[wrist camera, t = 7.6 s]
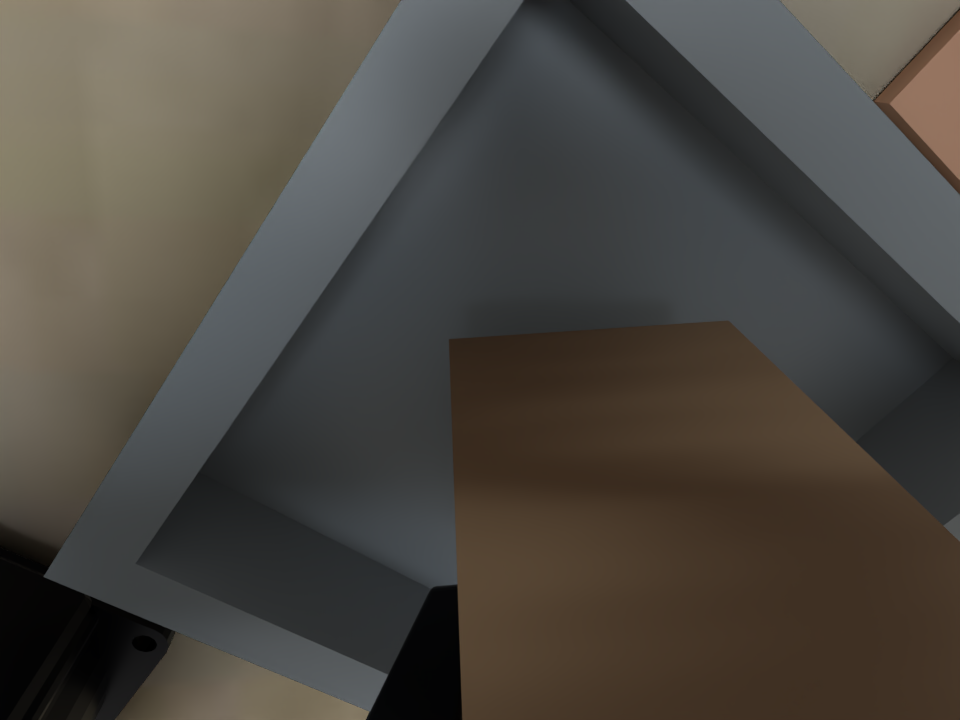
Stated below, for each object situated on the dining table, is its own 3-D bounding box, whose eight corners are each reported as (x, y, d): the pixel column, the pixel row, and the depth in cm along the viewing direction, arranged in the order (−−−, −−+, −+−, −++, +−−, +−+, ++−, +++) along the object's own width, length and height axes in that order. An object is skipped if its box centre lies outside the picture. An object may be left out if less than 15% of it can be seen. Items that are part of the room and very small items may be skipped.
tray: (588, 685, 16) (618, 814, 13) (129, 460, 12) (43, 576, 10) (1005, 333, 12) (1164, 415, 9) (517, -154, 8) (553, -246, 6)
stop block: (468, 596, 11) (520, 1577, 4) (448, 338, 9) (490, 1514, 2) (692, 579, 11) (1127, 1496, 4) (727, 320, 9) (1803, 1347, 2)
